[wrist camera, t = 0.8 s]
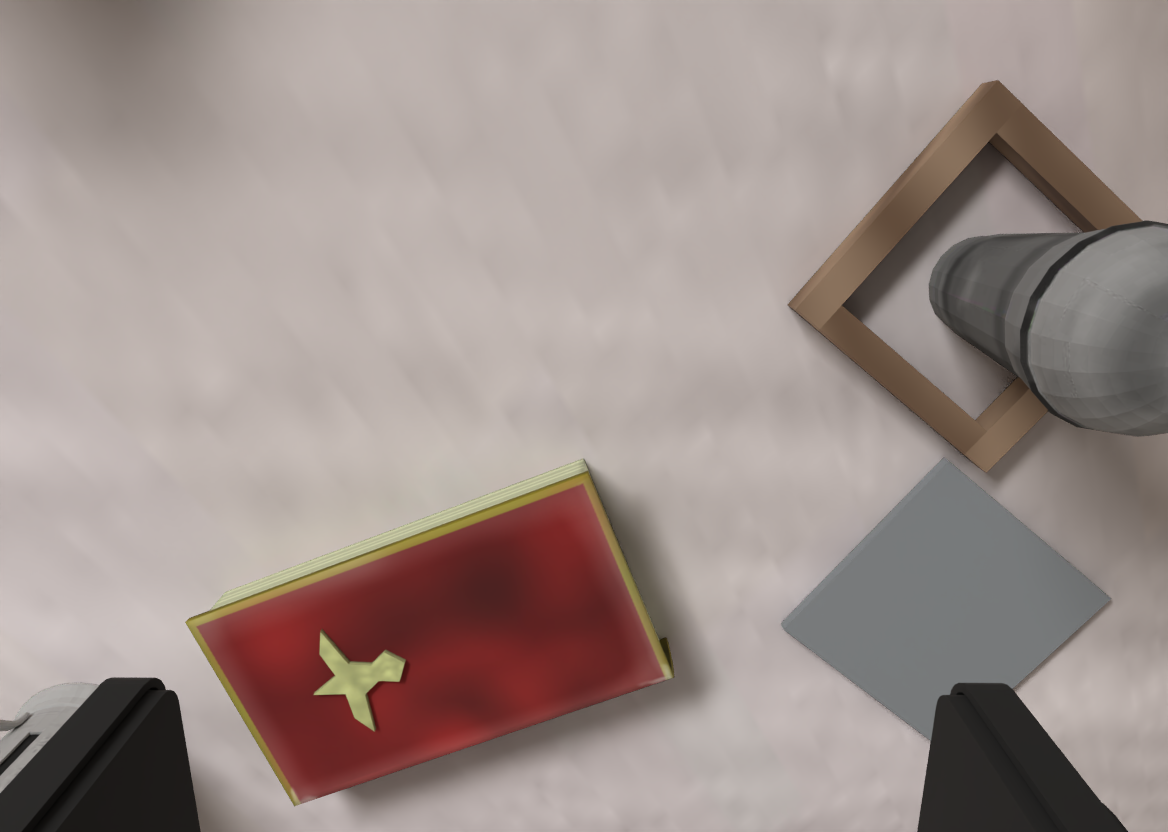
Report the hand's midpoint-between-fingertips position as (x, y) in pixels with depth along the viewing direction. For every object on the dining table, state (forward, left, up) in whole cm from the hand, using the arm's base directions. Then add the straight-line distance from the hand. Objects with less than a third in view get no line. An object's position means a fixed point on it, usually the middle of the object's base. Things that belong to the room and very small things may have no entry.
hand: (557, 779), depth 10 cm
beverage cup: (-13, +14, -31) cm, 37 cm away
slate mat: (0, +25, -31) cm, 40 cm away
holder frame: (-13, +14, -31) cm, 36 cm away
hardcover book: (+17, +4, -32) cm, 36 cm away
